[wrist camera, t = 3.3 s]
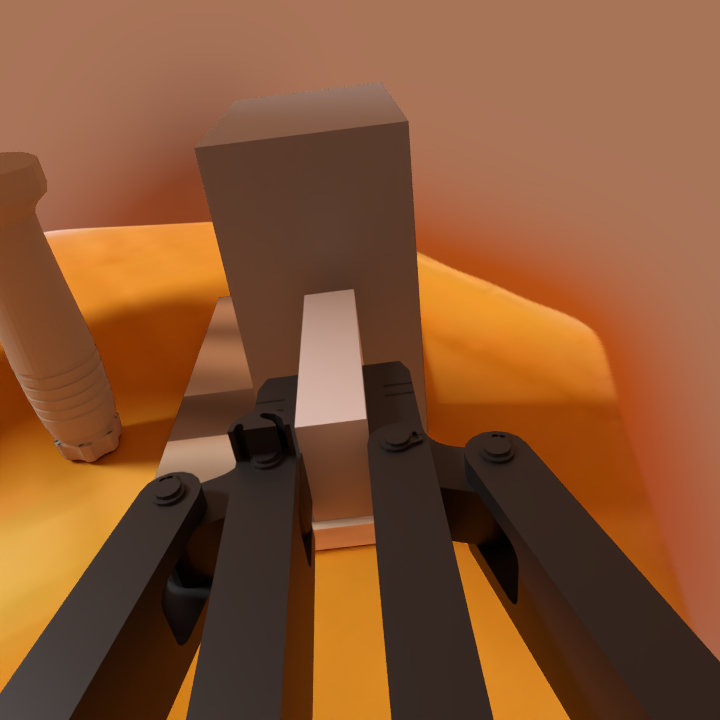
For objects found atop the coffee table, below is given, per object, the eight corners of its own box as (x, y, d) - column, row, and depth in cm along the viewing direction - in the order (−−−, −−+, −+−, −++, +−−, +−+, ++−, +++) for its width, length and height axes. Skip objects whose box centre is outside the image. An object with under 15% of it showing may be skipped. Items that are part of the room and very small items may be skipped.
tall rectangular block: (296, 398, 32) (235, 100, 24) (412, 384, 32) (388, 81, 24) (287, 524, 24) (194, 147, 16) (440, 507, 24) (418, 119, 16)
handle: (72, 498, 29) (-80, 194, 21) (31, 444, 33) (-109, 174, 25) (162, 448, 32) (55, 161, 24) (113, 403, 36) (9, 147, 28)
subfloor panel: (222, 311, 45) (218, 297, 44) (391, 291, 45) (390, 276, 44) (137, 571, 25) (128, 551, 24) (447, 535, 24) (446, 514, 24)
